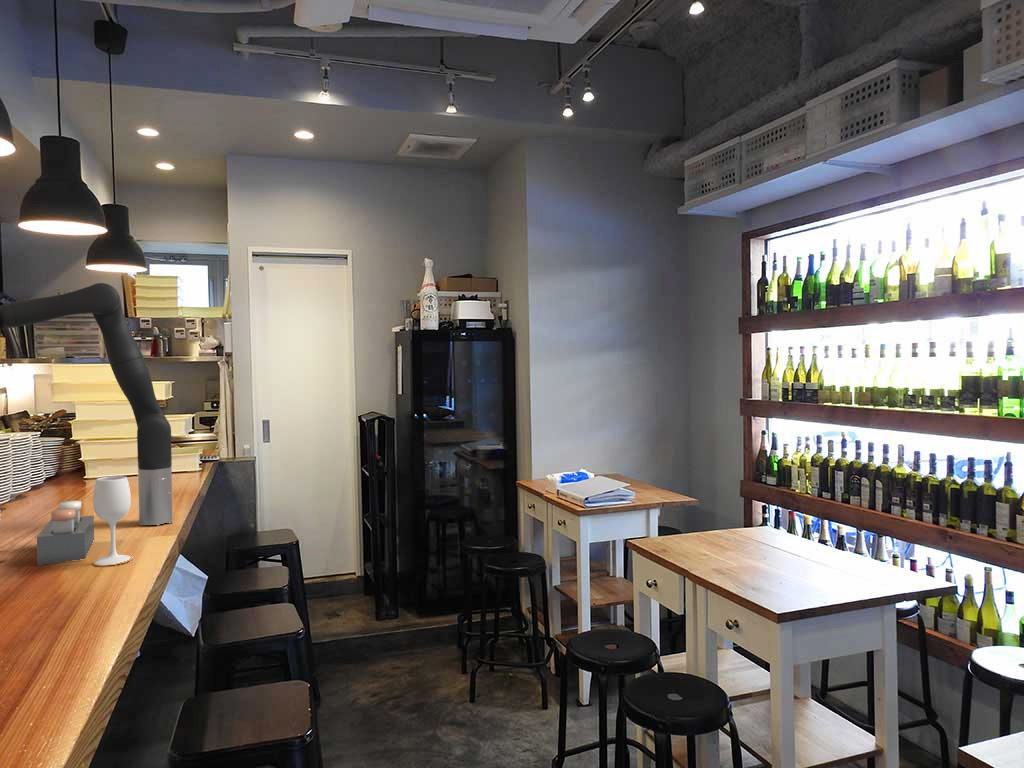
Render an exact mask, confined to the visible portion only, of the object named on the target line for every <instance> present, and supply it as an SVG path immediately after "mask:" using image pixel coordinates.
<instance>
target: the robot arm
mask: <svg viewBox="0 0 1024 768" xmlns="http://www.w3.org/2000/svg"><path fill="white" fill-rule="evenodd" d="M122 306H123V305H122V302H121V296H120V293H119V292H118V291H117V289H116V288H115V287H114V286H112V285H110V284H109V283H105V282H104V283H103V282H97V283H94V284H92V285H89V286H87V287H83V288H80V289H76V290H73V291H71V292H70V291H69V292H66V293H63V294H56V295H52V296H51V295H50V296H44V297H37V298H30V299H24V300H19V301H12V302H8V303H7V302H6V303H3V304H1V305H0V331H2V330H6V329H12V328H21V327H25V326H26V327H27V326H30V325H36V324H39V323H44V322H48V321H51V320H55V319H58V318H62V317H67V316H72V315H79V314H80V315H81V314H92V316H93V317H94V319H95V321H96V323H97V326H98V328H99V330H100V332H101V335H102V339H103V343H104V347H105V352H106V356H107V359H108V362H109V365H110V368H111V370H112V372H113V375H114V378H115V380H116V382H117V384H118V386H119V388H120V390H121V392H122V393H123V395H124V396H125V398H126V399H127V401H128V402H129V405H130V407H131V410H132V413H133V415H134V419H135V422H136V423H135V424H136V427H137V428H136V429H137V431H136V444H137V472H138V478H137V479H138V481H137V482H138V485H137V487H138V522H139V523H138V524H141V525H140V526H142V525H157V524H164V523H169V522H172V521H173V522H174V520H173V519H174V518H173V517H174V516H173V514H174V513H173V478H172V477H173V476H172V475H173V473H172V463H173V461H172V460H173V459H172V458H173V457H172V427H171V424H170V422H169V420H168V419H167V417H166V416H165V414H164V412H163V410H162V408H161V406H160V404H159V402H158V400H157V397H156V393H155V389H154V385H153V382H152V377H151V375H150V371H149V369H148V365H147V362H146V359H145V358H144V355H143V353H142V350H141V348H140V346H139V344H138V343H137V341H136V339H135V337H134V335H133V334H132V331H130V328H129V326H128V323H127V321H126V317H125V313H124V309H123V307H122ZM169 524H170V523H169ZM164 525H165V524H164ZM157 526H158V525H157Z"/></svg>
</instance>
